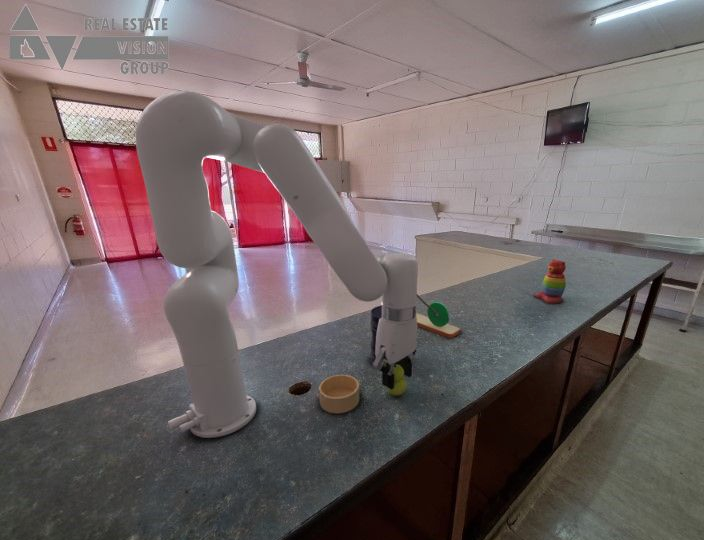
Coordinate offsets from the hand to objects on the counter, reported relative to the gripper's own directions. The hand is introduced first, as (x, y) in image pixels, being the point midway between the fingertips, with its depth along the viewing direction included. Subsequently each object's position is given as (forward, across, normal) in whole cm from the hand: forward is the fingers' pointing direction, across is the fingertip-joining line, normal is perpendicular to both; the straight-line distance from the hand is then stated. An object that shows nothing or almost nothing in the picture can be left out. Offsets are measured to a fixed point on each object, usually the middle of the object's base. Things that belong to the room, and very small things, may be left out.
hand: (397, 379), depth 75 cm
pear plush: (+4, 0, 0) cm, 4 cm away
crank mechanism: (+4, -37, -18) cm, 41 cm away
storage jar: (+4, -10, -12) cm, 16 cm away
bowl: (+4, +11, -8) cm, 14 cm away
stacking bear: (+4, -98, +7) cm, 98 cm away
